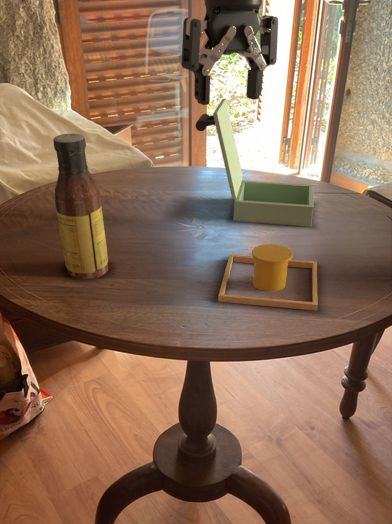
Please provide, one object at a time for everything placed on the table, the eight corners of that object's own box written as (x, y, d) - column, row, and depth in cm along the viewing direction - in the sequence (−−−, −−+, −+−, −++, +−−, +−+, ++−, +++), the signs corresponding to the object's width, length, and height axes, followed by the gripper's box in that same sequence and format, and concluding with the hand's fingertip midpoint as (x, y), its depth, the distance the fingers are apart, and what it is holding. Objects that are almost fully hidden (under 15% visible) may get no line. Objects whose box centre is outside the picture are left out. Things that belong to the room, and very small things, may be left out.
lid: (226, 98, 100) (200, 104, 102) (217, 112, 91) (189, 119, 92) (242, 177, 108) (219, 182, 109) (236, 198, 98) (210, 203, 100)
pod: (289, 278, 83) (293, 245, 81) (288, 296, 79) (292, 262, 76) (251, 275, 84) (253, 242, 81) (247, 293, 80) (250, 259, 77)
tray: (315, 271, 86) (316, 261, 86) (315, 315, 76) (317, 304, 75) (229, 263, 88) (229, 254, 87) (217, 305, 77) (218, 295, 76)
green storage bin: (310, 207, 109) (313, 185, 106) (310, 230, 99) (313, 207, 97) (239, 202, 110) (241, 180, 108) (232, 224, 101) (234, 201, 99)
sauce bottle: (98, 261, 88) (86, 127, 77) (116, 277, 84) (105, 138, 73) (58, 271, 85) (39, 133, 74) (74, 288, 81) (57, 145, 70)
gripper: (203, -37, 66) (200, 111, 75) (297, -35, 72) (284, 101, 82) (171, -38, 71) (172, 101, 81) (261, -36, 78) (253, 92, 87)
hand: (228, 101), depth 81 cm, fingers open, 8 cm apart
